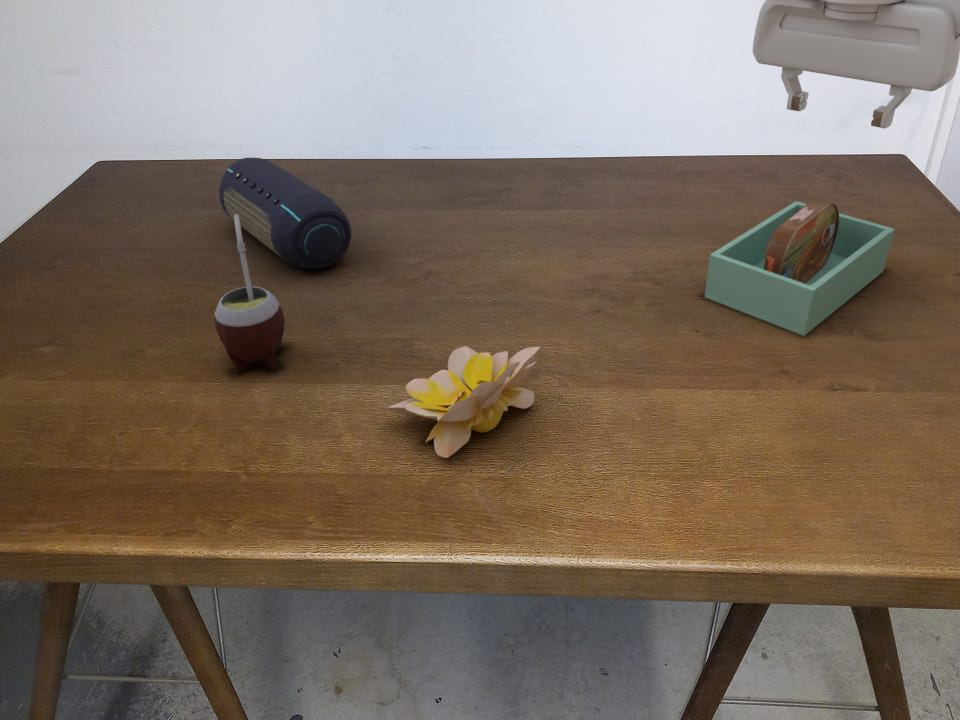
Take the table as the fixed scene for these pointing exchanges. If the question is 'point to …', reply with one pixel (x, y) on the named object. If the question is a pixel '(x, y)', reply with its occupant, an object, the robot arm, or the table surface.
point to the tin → (803, 242)
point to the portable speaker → (285, 213)
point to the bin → (786, 300)
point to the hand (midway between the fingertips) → (837, 117)
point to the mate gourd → (249, 321)
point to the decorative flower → (469, 395)
